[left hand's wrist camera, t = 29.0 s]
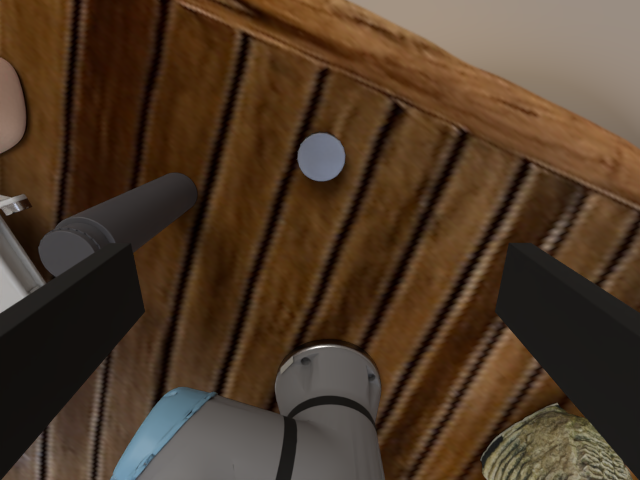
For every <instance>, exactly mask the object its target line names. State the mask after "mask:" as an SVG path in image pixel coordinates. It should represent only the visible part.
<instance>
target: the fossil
mask: <svg viewBox="0 0 640 480" xmlns="http://www.w3.org/2000/svg"><path fill="white" fill-rule="evenodd" d="M480 460H481V462H482V473H483V476H484V477H485V478H486V479H487V480H633V479H632V477H631V475H630V473H629V471H628V469H627V468H626V467H624V464H623V461H622V459H621V458H620V457H619V456H618V455H617V454H616V452H615V451H614V450H613V449H612V448H611V447H610V445H609V444H608V443H607V442H606V441H605V440H604V438H603V437H602V436H601V435H600V434H599V433H598V431H597V430H596V429H595V428H594V427H593V426H592V424H591V423H590V422H589V421H588V420H587V419H586V418H583V417H579V416H576V415H573V414H568V413H567V412H566V411H565V410H563V409H562V408H561V407H560V406H559V405H558V403H556V404H553V405H549V406H547V407H545V408H544V409H541V410H539V411H537V412H535V413H533V414H532V415H530V416H528V417H526V418H524V419H523V420H522V421H520V422H518V423H515V424H514V425H512V426H511V427H509V428H508V429H507V430H505V431H504V432H502V433H501V434H500V435H498V436H497V437H496V438H495V439H494V440H493V441H492V442H491V444H490V445H489V446H488V448H487V450H486V451H485V452H484V453H483V455H482V457H481V459H480Z"/></svg>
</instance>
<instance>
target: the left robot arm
mask: <svg viewBox="0 0 640 480" xmlns="http://www.w3.org/2000/svg"><path fill="white" fill-rule="evenodd" d="M144 312H145V310H144V305H143V300H142V295H141V290H140V285H139V280H138V275H137V270H136V265H135V260H134V255H133V250H132V246H131V243H108V244H107V245H105V246H104V247H102V248H101V249H99V250H97V251H96V252H94V253H93V254H91V255H90V256H88V257H87V258H85V259H83V260H82V261H80V262H79V263H77V264H76V265H74V266H73V267H71V268H70V269H68V270H66V271H65V272H63V273H62V274H60V275H59V276H57V277H56V278H54V279H52V280H51V281H49V282H48V283H46V284H45V285H43V286H42V287H40V288H39V289H37V290H35V291H34V292H32V293H31V294H29V295H28V296H26V297H25V298H23V299H21V300H20V301H18V302H17V303H15V304H14V305H12V306H11V307H9V308H7V309H6V310H4V311H3V312H1V313H0V480H1V479H2V478H3V477H4V476H5V475H6V474H7V472H8V471H9V470H10V469H11V468H12V466H13V465H14V464H15V463H16V462H17V461H18V459H19V458H20V457H21V456H22V455H23V454H24V452H25V451H26V450H27V449H28V448H29V447H30V445H31V444H32V443H33V442H34V441H35V440H36V438H37V437H38V436H39V435H40V434H41V433H42V431H43V430H44V429H45V428H46V427H47V426H48V424H49V423H50V422H51V421H52V420H53V419H54V417H55V416H56V415H57V414H58V413H59V412H60V410H61V409H62V408H63V407H64V406H65V405H66V403H67V402H68V401H69V400H70V399H71V398H72V396H73V395H74V394H75V393H76V392H77V390H78V389H79V388H80V387H81V386H82V385H83V383H84V382H85V381H86V380H87V379H88V378H89V376H90V375H91V374H92V373H93V372H94V371H95V369H96V368H97V367H98V366H99V365H100V364H101V362H102V361H103V360H104V359H105V358H106V357H107V355H108V354H109V353H110V352H111V351H112V350H113V348H114V347H115V346H116V345H117V344H118V343H119V341H120V340H121V339H122V338H123V337H124V336H125V334H126V333H127V332H128V331H129V330H130V329H131V327H132V326H133V325H134V324H135V323H136V322H137V320H138V319H139V318H140V317H141V316H142V315H143V313H144ZM495 312H496V313H497V315H498V316H499V317H500V318H501V319H502V320H503V322H504V323H505V324H506V325H507V326H508V327H509V329H510V330H511V331H512V332H513V333H514V334H515V336H516V337H517V338H518V339H519V340H520V341H521V343H522V344H523V345H524V346H525V347H526V348H527V350H528V351H529V352H530V353H531V354H532V355H533V357H534V358H535V359H536V360H537V361H538V362H539V364H540V365H541V366H542V367H543V368H544V369H545V371H546V372H547V373H548V374H549V375H550V376H551V378H552V379H553V380H554V381H555V382H556V383H557V385H558V386H559V387H560V388H561V389H562V390H563V392H564V393H565V394H566V395H567V396H568V398H569V399H570V400H571V401H572V402H573V403H574V405H575V406H576V407H577V408H578V409H579V410H580V412H581V413H582V414H583V415H584V416H585V417H586V419H587V420H588V421H589V422H590V423H591V424H592V426H593V427H594V428H595V429H596V430H597V431H598V433H599V434H600V435H601V436H602V437H603V438H604V440H605V441H606V442H607V443H608V444H609V445H610V447H611V448H612V449H613V450H614V451H615V452H616V454H617V455H618V456H619V457H620V458H621V459H622V461H623V462H624V463H625V464H626V465H627V466H628V468H629V469H630V470H631V471H632V472H633V474H634V475H635V476H636V477H637V478H638V479H639V480H640V313H639V312H637V311H636V310H634V309H633V308H631V307H629V306H628V305H626V304H625V303H623V302H622V301H620V300H619V299H617V298H615V297H614V296H612V295H611V294H609V293H608V292H606V291H605V290H603V289H601V288H600V287H598V286H597V285H595V284H594V283H592V282H591V281H589V280H588V279H586V278H584V277H583V276H581V275H580V274H578V273H577V272H575V271H574V270H572V269H570V268H569V267H567V266H566V265H564V264H563V263H561V262H560V261H558V260H557V259H555V258H553V257H552V256H550V255H549V254H547V253H546V252H544V251H543V250H541V249H539V248H538V247H536V246H535V245H533V244H532V243H509V246H508V250H507V255H506V260H505V265H504V270H503V275H502V280H501V285H500V290H499V295H498V300H497V305H496V310H495ZM275 393H276V399H277V403H278V407H279V410H280V414H277V413H274V412H271V411H268V410H264V409H261V408H258V407H254V406H251V405H248V404H245V403H241V402H238V401H235V400H232V399H228V398H225V397H222V396H219V395H218V393H216V392H211V393H209V392H204V391H200V390H196V389H192V388H188V387H178V388H175V389H173V390H171V391H169V392H168V393H167V394H165V395H164V396H163V397H162V398H161V399H160V401H159V402H158V403H157V404H156V405H155V407H154V408H153V409H152V410H151V412H150V413H149V414H148V416H147V417H146V419H145V420H144V422H143V423H142V425H141V426H140V428H139V429H138V431H137V432H136V434H135V435H134V437H133V438H132V440H131V442H130V443H129V445H128V447H127V448H126V450H125V452H124V453H123V455H122V457H121V458H120V460H119V462H118V464H117V466H116V468H115V470H114V472H113V476H112V477H111V479H110V480H385V477H384V472H383V466H382V461H381V455H380V450H379V444H378V438H377V433H376V428H375V420H376V415H377V411H378V406H379V401H380V396H381V381H380V377H379V372H378V369H377V366H376V364H375V362H374V361H373V359H372V358H371V357H370V356H369V355H368V354H367V353H366V352H365V351H364V350H362V349H361V348H359V347H357V346H355V345H353V344H351V343H348V342H345V341H341V340H334V339H323V340H316V341H312V342H308V343H306V344H303V345H301V346H299V347H297V348H296V349H294V350H293V351H292V352H290V353H289V354H288V355H287V356H286V357H285V358H284V360H283V361H282V363H281V365H280V367H279V369H278V372H277V377H276V384H275Z"/></svg>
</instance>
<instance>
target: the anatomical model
mask: <svg viewBox="0 0 640 480" xmlns="http://www.w3.org/2000/svg"><path fill="white" fill-rule="evenodd" d="M25 127H26V108H25V102H24V96H23V92H22V87H21V84H20V81H19V78H18V75H17V73H16V71H15V69H14V68H13V67H12V65H11V64H10V63H9V62H7V61H6V60H4V59H2V58H1V57H0V153H2V152H4V151H6V150H8V149H10V148H11V147H13V146H14V145H16V144H17V143H18V142H19V141H20V140H21V138H22V137H23V135H24V132H25Z"/></svg>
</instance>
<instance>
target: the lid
mask: <svg viewBox="0 0 640 480" xmlns="http://www.w3.org/2000/svg"><path fill="white" fill-rule="evenodd" d="M300 145H301V146H300V148H299V150H298V158H297V160H298V164H299V167H300V169H301V170H302V172H303V173H304V174H305V175H306V176H307V177H308V178H310V179H312V180H315V181H328V180H331V179H333V178H334V177H336V176H337V175H338V174H339V173H340V172H341V170H342V168H343V166H344V163H345V156H346V155H345V152H344V149H343V148H344V147H343V146H342V144H341V143H340V140H338V139H337V138H336V137H335V136H334V135H332V134H329V133H327V132H320V131H319V132H317V133H312V134H311V135H309V136H308V137H306V138H305V140H304V141H303V142H302V143H301V144H300Z"/></svg>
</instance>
